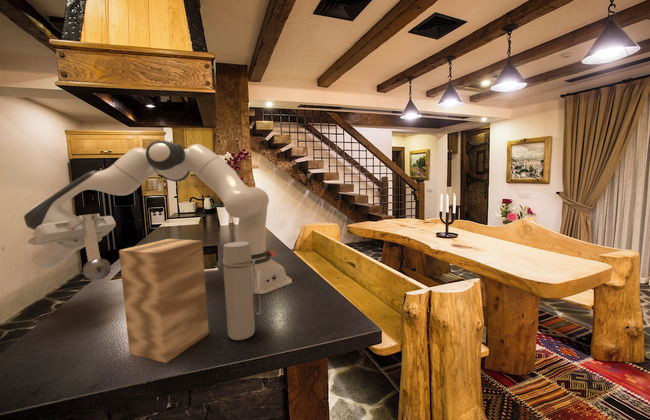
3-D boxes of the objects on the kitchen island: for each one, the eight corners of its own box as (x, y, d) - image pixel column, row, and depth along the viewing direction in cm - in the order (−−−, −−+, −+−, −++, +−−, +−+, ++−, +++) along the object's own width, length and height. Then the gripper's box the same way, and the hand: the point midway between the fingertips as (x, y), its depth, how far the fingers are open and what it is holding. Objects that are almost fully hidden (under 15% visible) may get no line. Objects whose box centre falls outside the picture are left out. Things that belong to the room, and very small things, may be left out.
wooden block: (129, 353, 75) (119, 250, 72) (175, 327, 88) (168, 238, 85) (166, 363, 70) (156, 253, 68) (208, 333, 83) (202, 240, 81)
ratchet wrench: (72, 216, 88) (82, 215, 86) (94, 213, 93) (103, 212, 92) (85, 282, 89) (94, 281, 87) (106, 275, 94) (115, 275, 93)
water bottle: (229, 345, 77) (222, 248, 75) (226, 331, 84) (220, 243, 82) (265, 336, 81) (260, 244, 78) (259, 324, 88) (254, 239, 85)
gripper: (20, 235, 85) (43, 211, 80) (97, 224, 104) (119, 204, 99) (29, 255, 85) (53, 232, 80) (105, 240, 103) (127, 221, 99)
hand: (90, 216), depth 89 cm, fingers closed on ratchet wrench, 2 cm apart
